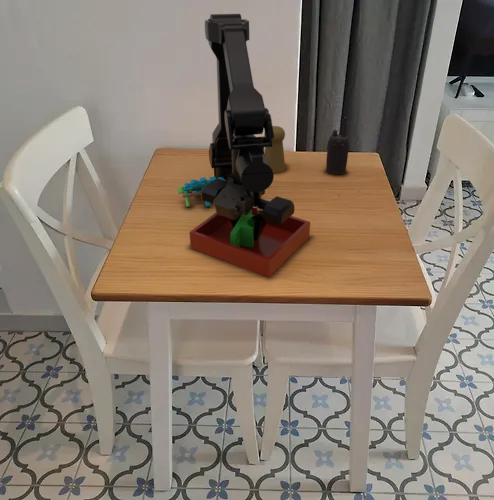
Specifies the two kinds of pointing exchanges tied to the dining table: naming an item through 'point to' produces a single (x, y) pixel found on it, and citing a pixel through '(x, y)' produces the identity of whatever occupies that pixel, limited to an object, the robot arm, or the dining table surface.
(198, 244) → the open red box
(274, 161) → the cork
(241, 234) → the pipe clamp
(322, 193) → the dining table surface
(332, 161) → the two-way radio
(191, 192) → the blue toy dinosaur
